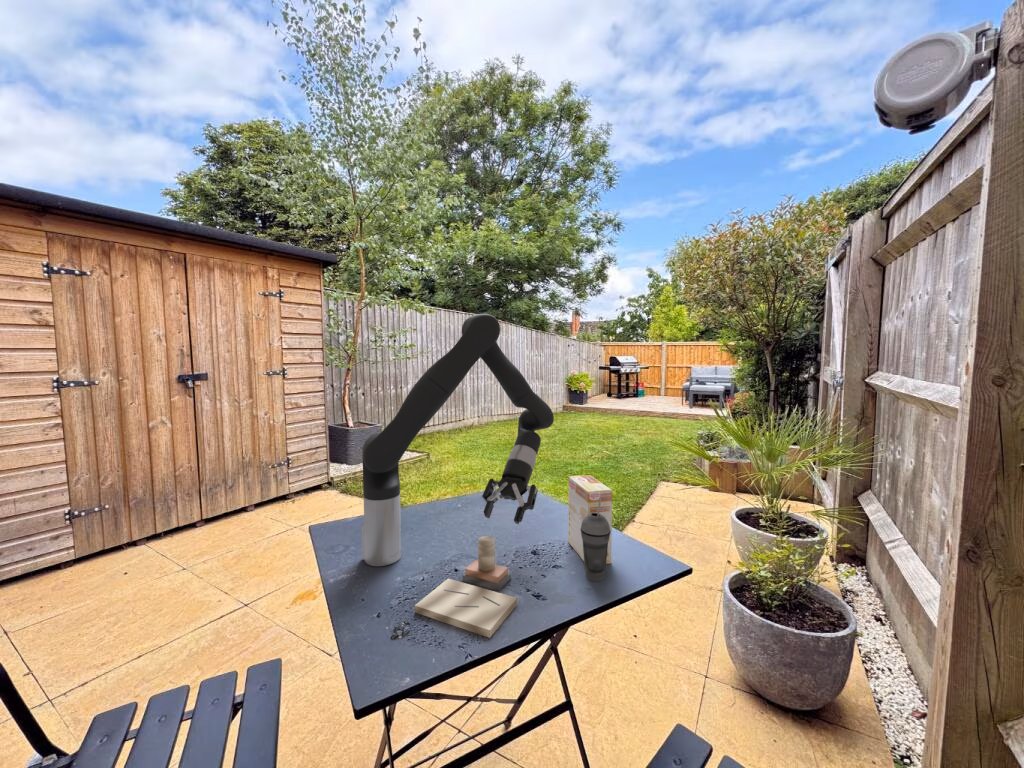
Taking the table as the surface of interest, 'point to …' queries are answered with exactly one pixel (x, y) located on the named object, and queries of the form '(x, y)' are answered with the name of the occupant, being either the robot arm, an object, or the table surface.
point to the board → (467, 607)
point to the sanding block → (486, 567)
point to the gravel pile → (400, 630)
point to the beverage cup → (595, 544)
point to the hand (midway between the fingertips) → (501, 519)
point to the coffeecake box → (587, 508)
